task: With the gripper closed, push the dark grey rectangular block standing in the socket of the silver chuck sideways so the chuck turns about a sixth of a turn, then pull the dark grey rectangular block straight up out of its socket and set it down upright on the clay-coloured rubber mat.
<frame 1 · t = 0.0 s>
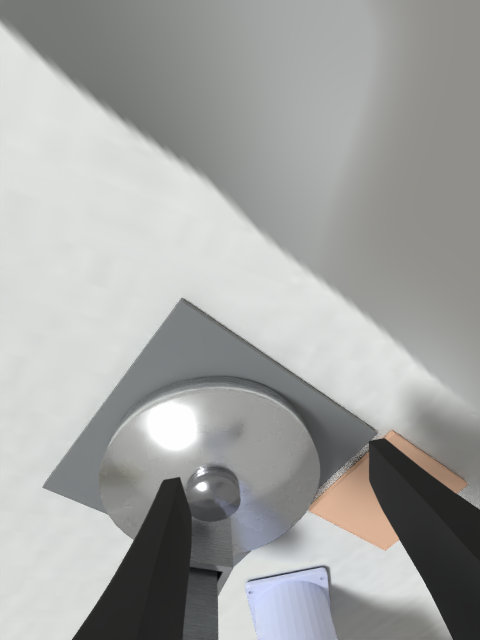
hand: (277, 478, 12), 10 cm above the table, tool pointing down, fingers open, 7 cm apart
base plate: (212, 454, 24), on the table
mat: (387, 493, 27), on the table
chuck: (213, 494, 21), point 3 cm above the table, hinge at 0.0°, touching dark grey rectangular block
dark grey rectangular block: (190, 537, 22), point 3 cm above the table, touching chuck
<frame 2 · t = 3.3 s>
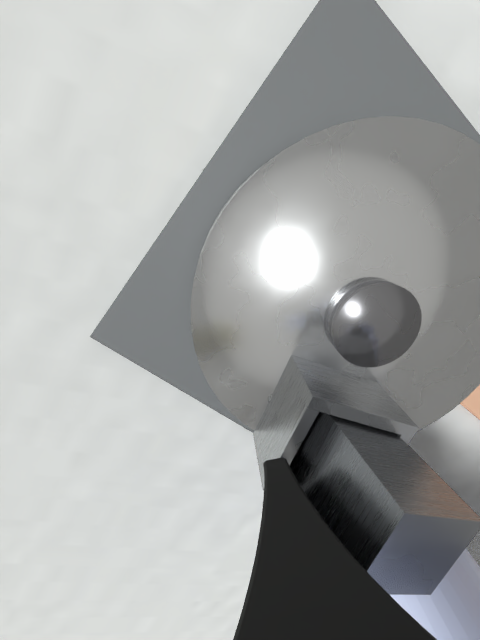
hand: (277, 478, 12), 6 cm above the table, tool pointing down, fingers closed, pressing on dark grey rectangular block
base plate: (338, 298, 16), on the table
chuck: (370, 322, 13), point 3 cm above the table, hinge at 0.2°, touching dark grey rectangular block
dark grey rectangular block: (317, 414, 15), point 3 cm above the table, tilted 7°, touching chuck, gripper
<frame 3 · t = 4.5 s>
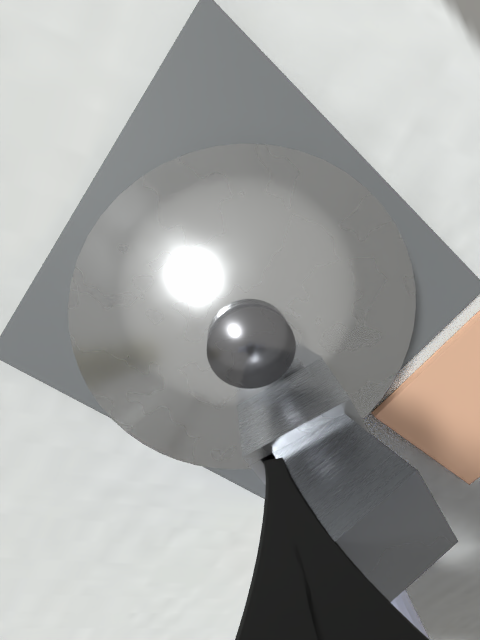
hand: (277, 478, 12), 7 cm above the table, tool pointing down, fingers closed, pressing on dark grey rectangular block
base plate: (242, 315, 16), on the table
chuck: (250, 344, 13), point 3 cm above the table, hinge at 53.3°, touching dark grey rectangular block
dark grey rectangular block: (297, 427, 15), point 4 cm above the table, tilted 15°, touching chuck, gripper
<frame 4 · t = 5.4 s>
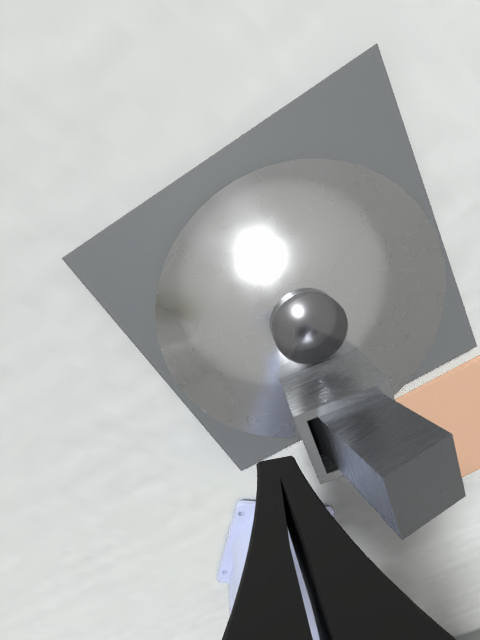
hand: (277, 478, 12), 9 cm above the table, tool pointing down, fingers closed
base plate: (290, 304, 19), on the table
mat: (439, 433, 23), on the table
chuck: (307, 326, 15), point 4 cm above the table, hinge at 63.1°, touching dark grey rectangular block
dark grey rectangular block: (326, 404, 17), point 4 cm above the table, tilted 15°, touching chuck
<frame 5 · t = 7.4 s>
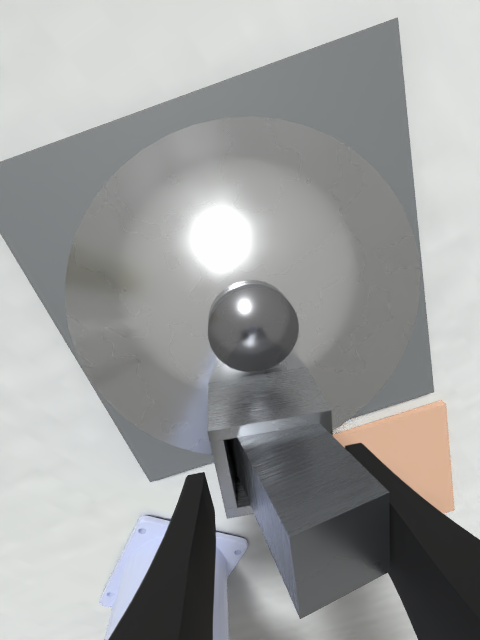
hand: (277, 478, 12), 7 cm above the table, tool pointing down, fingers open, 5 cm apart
base plate: (243, 300, 16), on the table
mat: (376, 478, 21), on the table
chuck: (251, 326, 13), point 4 cm above the table, hinge at 63.1°, touching dark grey rectangular block
dark grey rectangular block: (257, 424, 14), point 4 cm above the table, tilted 15°, touching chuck, gripper
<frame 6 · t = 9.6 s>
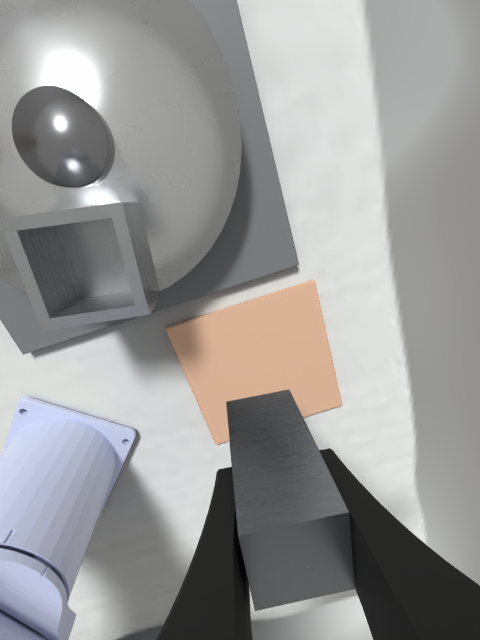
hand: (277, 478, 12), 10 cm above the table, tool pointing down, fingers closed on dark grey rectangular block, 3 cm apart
base plate: (95, 153, 16), on the table
mat: (260, 367, 22), on the table
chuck: (66, 141, 13), point 4 cm above the table, hinge at 63.0°
dark grey rectangular block: (262, 422, 15), point 7 cm above the table, touching gripper
when the fingers open (5 cm above the table, at t = 11.1 s): dark grey rectangular block drops 1 cm, resting on mat.
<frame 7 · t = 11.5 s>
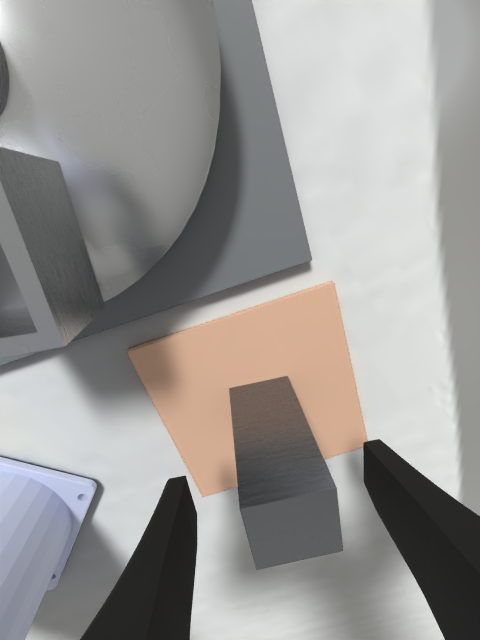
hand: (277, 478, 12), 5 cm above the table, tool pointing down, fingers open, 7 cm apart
base plate: (3, 95, 11), on the table
mat: (259, 399, 16), on the table
dark grey rectangular block: (263, 406, 16), resting on mat
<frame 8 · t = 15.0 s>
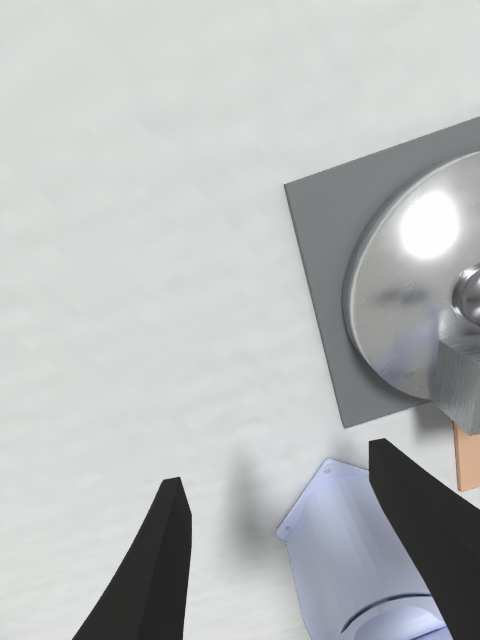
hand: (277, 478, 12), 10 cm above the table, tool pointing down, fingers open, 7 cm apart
base plate: (446, 280, 21), on the table
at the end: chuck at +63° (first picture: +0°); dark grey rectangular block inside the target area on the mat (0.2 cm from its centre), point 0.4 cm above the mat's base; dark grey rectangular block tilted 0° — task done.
